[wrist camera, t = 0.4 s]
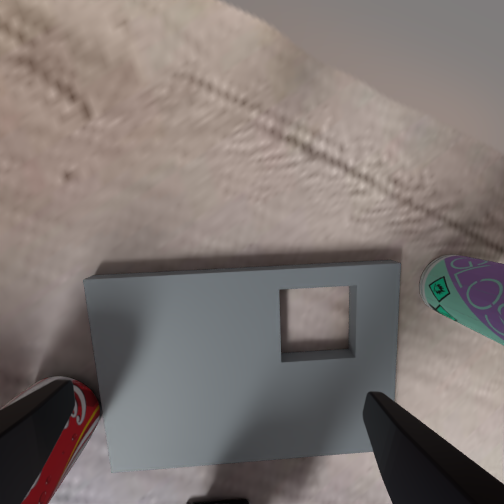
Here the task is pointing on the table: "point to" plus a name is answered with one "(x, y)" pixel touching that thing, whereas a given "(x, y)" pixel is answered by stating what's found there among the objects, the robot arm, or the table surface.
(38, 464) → the robot arm
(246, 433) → the hole board
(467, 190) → the table surface
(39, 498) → the soda can
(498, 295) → the spray can
